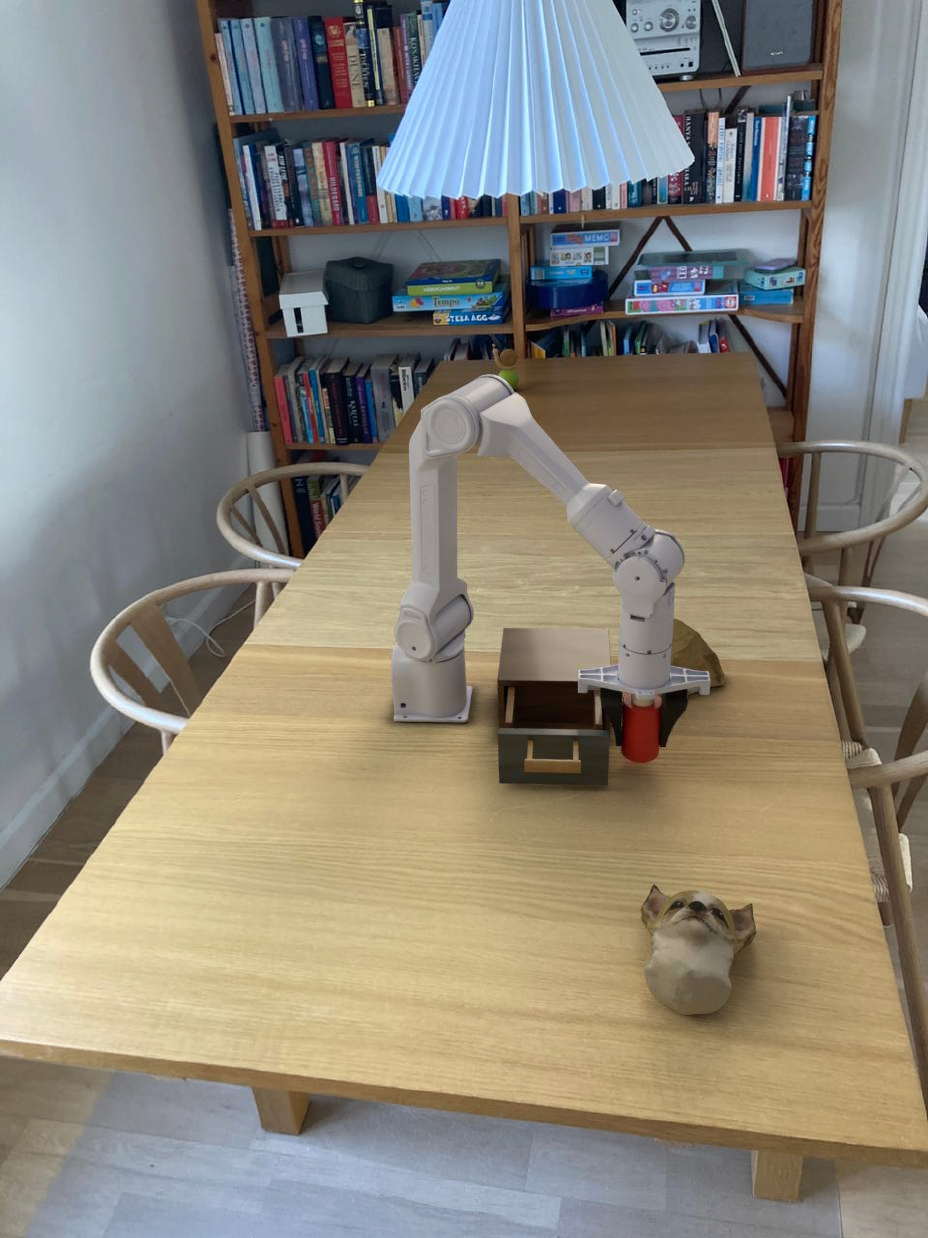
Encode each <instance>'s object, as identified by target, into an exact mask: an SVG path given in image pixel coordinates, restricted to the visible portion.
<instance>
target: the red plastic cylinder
mask: <svg viewBox="0 0 928 1238" xmlns="http://www.w3.org/2000/svg"><path fill="white" fill-rule="evenodd" d="M622 701H623V713H622V747H620V753H621V755H622V756H623V757H624V758H625V759H626V760H628V761H630V762H632V763H637V764H644V763H646V764H647V763H650V762H651V763H652V762H653V761H654V760H656V759H658V757H659V756H660V731H661V716H662V699H661V697H660V696H659V695H657V694H656V695H655V698H654V699H652V700H640V699H637V698H636V695H635V694H630V693H625V695H623V697H622Z"/></svg>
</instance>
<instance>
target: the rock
mask: <svg viewBox="0 0 928 1238" xmlns="http://www.w3.org/2000/svg"><path fill="white" fill-rule="evenodd" d="M670 666H675V667H680V668H685V669H690V670H696V671H708V672H709V675H710V680H711V683H710V688H713V687H717V686H722V685H724V684H726V680H725V672H724V671H723V668H722V665H721V662H720V658H719V656H718V655H717V653H716V652H715V651H713V649H712V648H711V647H710V646H709V645H708V643H707V642H706V641H705V639H704V638H703V636H701V634H700V633H699V632H698V631H696V630H695V629H694V628H692V627H691V626H690V625H687V624H686V623H685V622H684V621H682V620H680V619H678V618H674V621H673V636H672V649H671V664H670ZM692 694H695V692H692V691H688V692H687V696H689V695H692ZM657 695H659V696H660V697H661V699H662V694H657Z"/></svg>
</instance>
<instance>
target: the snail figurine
mask: <svg viewBox="0 0 928 1238" xmlns="http://www.w3.org/2000/svg"><path fill="white" fill-rule="evenodd" d="M491 346H492V354H493V358H494V361H495V364H496V366H497V367H498V368H499V369H500V370H501V371H500V372H499V373H498V374H497V376H499V377H501V378H502V379H504V380H505V381H506V382H507V383H508V384H509V385H510V386H511V387H512V389H513V390H515V389H516V388H517V387H518V385H519V381H520V379H519V375H518V373H517V372H516V371H515V368H516V367H517V366H518V363H517V361H518V354H517V352H516V351H515V350H514V349H513V348H512V349H511V348H507V349H503V350H502V352H500V354H499V349H498V348H495V347H496V344H494V343H492V345H491Z"/></svg>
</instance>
